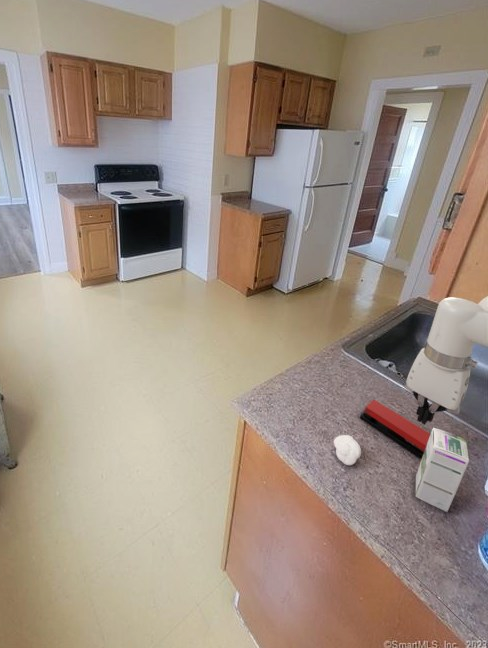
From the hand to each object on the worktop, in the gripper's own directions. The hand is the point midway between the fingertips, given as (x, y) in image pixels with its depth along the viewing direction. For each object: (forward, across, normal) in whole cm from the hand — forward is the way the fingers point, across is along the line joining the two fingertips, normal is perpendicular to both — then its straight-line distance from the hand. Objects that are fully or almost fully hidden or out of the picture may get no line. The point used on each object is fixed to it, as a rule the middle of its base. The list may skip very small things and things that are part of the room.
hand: (423, 419), depth 75 cm
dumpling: (+8, +9, +16) cm, 20 cm away
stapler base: (+8, +4, 0) cm, 9 cm away
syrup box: (+9, -7, +10) cm, 15 cm away
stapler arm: (+6, +4, 0) cm, 7 cm away
